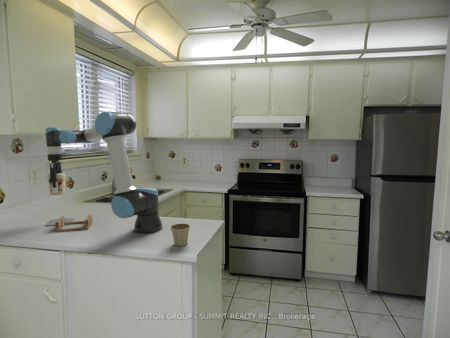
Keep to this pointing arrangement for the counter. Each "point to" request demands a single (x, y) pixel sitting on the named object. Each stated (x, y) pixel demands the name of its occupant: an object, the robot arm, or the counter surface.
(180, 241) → the flower pot
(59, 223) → the cradle
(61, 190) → the coffee cup
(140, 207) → the robot arm
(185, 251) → the counter surface
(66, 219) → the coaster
